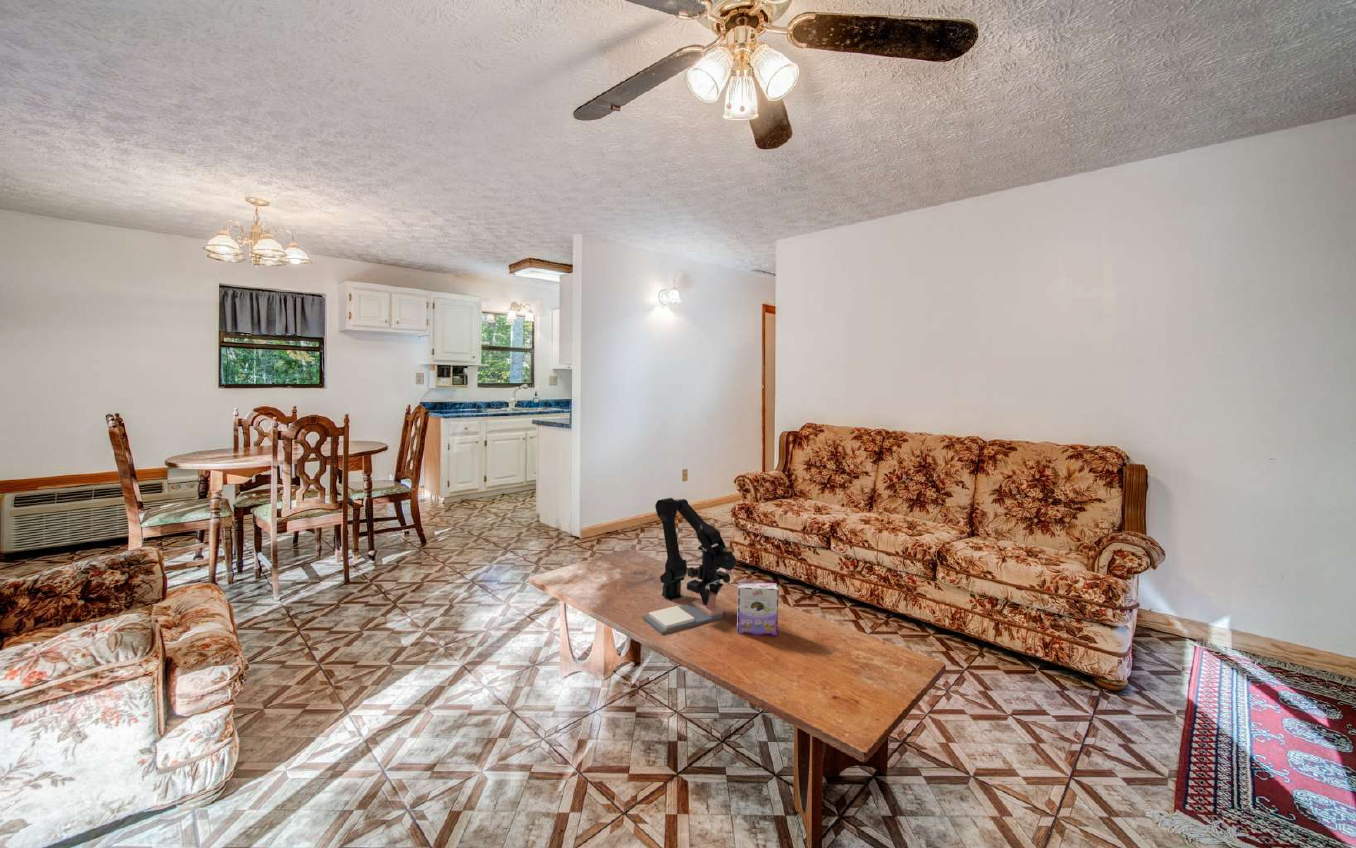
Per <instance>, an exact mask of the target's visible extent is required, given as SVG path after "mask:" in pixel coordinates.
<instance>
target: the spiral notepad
mask: <svg viewBox="0 0 1356 848" xmlns="http://www.w3.org/2000/svg"><path fill="white" fill-rule="evenodd" d="M679 607H680V606H677V605H674V606H671V607H666V608H662V609H659V610H654V611H650V612H648V615H649V617H651V618H652V619H653V620H655V621H656V622H657V623H658V624H660V625H661V626H662V627H663V628H665V629H668V628H672V627H676V626H679V625H683V624H687V623H690V622H694V621H695V618H694V617H692V616H691V615H689V614H688V613H686V612H685V611H684V610H682V609H681V608H679Z"/></svg>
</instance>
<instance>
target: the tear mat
mask: <svg viewBox="0 0 1356 848" xmlns="http://www.w3.org/2000/svg"><path fill="white" fill-rule="evenodd" d="M692 604H693V603H690V604H686V605H682V606H678V607H679V608H681V609H682V610H684V611H685V612H686V613H688V614H689V615H691V616H692V617H694V618H695V621H694V622H690V623H687V624H683V625H679V626H676V627H672V628H668V629H665V628H663V627H662V626H661V625H660V624H658V623H657V622H656V621H655V620H653V619H652V618H651V617H649V614H646V615H642V617H641V618H642V620H643V621H645V622H646V623H647V624H648V625H650V626H651V627H652V628H654V629H655V630H656V632H658V633H659V634H661V635H666V634H669V633H673V632H676V631H680V630H684V629H688V628H691V627H695V626H698V625H702V624H705V623H709V622H713V621H716V620H720V619H723V618H724V615H723V614H719V615H715V616H712V617H710V616H709V615H707V614H706V613H704V612H703V611H701V610H700V609H698V608H697V607H695V606H694V605H692Z"/></svg>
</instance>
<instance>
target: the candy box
mask: <svg viewBox="0 0 1356 848" xmlns="http://www.w3.org/2000/svg"><path fill="white" fill-rule="evenodd" d="M736 612H737V613H736V614H737V615H736V616H737V617H736V618H737V619H736V621H737V622H736V633H737V634H746V635H747V634H748V635H750V634H751V635H768V636H769V635H770V636H778V625H779V624H778V622H779V617H778V616H779V613H778V612H779V587H778V584H777V583H775V582H774V583H773V582H772V583H771V582H769V583H768V582H752V581H750V582H749V581H738V582H737V611H736Z"/></svg>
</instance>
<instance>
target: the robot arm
mask: <svg viewBox="0 0 1356 848" xmlns="http://www.w3.org/2000/svg"><path fill="white" fill-rule="evenodd" d="M654 507H655V511H656V515H657V517H658V518H659V520H660V521H661V523H662V528H663V535H664V541H665V550H666V555H667V559H666V562H665V565H664V570H665V572H663V573H662V574H661V576H659V578H660V583H662V584H663V585H662V593H661V596H662V597H664V598H665V599H667V600H669V601H672V600H677V599H680V598H683V597H684V596H683V595H682V593H681V592H682V591H681V590H682V588H681V587H682V581H684V580H685V577H686V576H688V577H689V578H690V579H693V580H690V581H688V582H687V583H686V590H688V591H690V592H693V593H696V594H699V595H700V597H701V599H702V602H703V605H705V606H706V605H707V601H708V598H709V594H710V591H711V592H713V593H715V594H716V597H717V596H718V594H719V593H720V590H721V589H722V587H723V586H724V583H725V584H727V583H729V582H731V576H730V574H729V573H727V572H725V571H722V570H720V568H721V569H723V570H726V571H729V572H730V571H733V570H734V569H735V567H736V562H737V559H736V557H735V555H734V553H733V551H732V550H728V549H727V546H726V545H725V542H724V540H723V538H722V536H721V535H722V534H721V532H720V531H719V530H718V529H717V528H715V527H714V526H713V525H711V524H709V523H707V522H706V521H704V519H703V518H702V517H701V516H700V515H699V514H698V513H697V512H696V510H695V509H694V508H693V507H692V506H691V505H690V504H689V502H688V500H687V499H685V498H682V499H680V498H679V499H674V498H673V497H667V498H663V499H658V500H656V503H655V506H654ZM677 513H679V514H680V515H681V517H683V519H684V520H685V521H686V522H687V523H688V524H689V525H690V526H691V528H692V529H693V530H694V532H695V534H696V538H697V539H698V541H699V543H700V544H701V545H700V546H698V547H697V550H700V551H701V552H702V553H701V564H699V566H697V567H693V566H692V567H688V566H687V560H686V559H683V558H682V556H681V554H680V547H679V541H678V535H677V528H676V522H675V519H676V516H677ZM694 578H697V579H694ZM700 580H701V581H700ZM721 580H723V582H724V583H722V582H721ZM701 599H700V600H701Z"/></svg>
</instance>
